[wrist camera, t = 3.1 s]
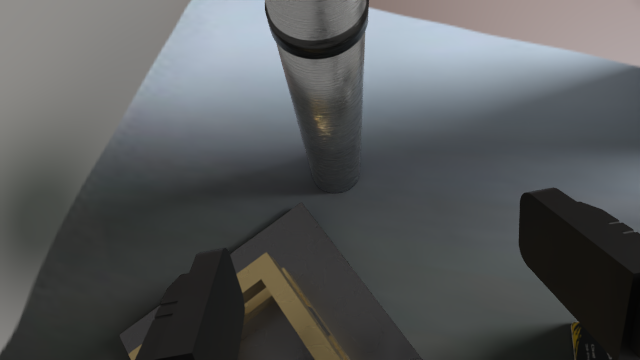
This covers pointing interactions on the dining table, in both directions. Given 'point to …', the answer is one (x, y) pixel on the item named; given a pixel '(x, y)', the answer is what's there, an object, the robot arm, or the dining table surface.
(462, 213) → the dining table surface
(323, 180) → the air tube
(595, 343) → the medicine bottle
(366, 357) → the collar stand
